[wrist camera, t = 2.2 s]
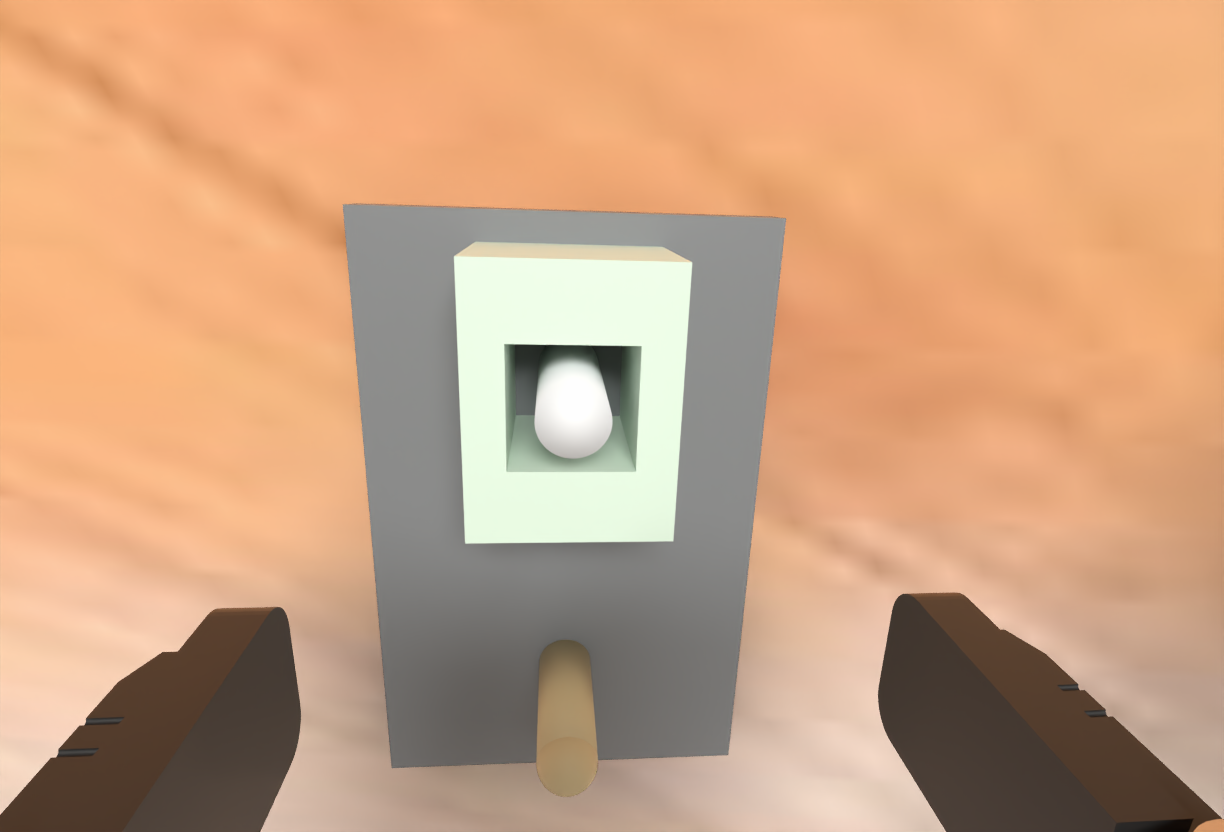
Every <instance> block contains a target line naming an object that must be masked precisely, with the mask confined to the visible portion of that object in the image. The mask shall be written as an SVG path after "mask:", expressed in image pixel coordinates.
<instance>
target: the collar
mask: <svg viewBox="0 0 1224 832" xmlns="http://www.w3.org/2000/svg"><path fill="white" fill-rule="evenodd" d="M454 272H455V298H456V323H457V349H458V374H459V400H460V426H461V451H462V477H463V503H464V528H465V544H469V543H562V542H656V541H673V539H674V524H675V510H676V495H677V480H678V466H679V451H680V436H681V421H682V407H683V392H684V377H685V363H686V348H687V333H688V319H689V304H690V289H691V274H692V262H691V261H689V260H687V259H685V258H683V257H681V256H679V255H677V254H676V253H674V252H672V251H670V250H668V249H666V248H664V247H654V246H618V245H581V244H545V243H508V242H474V243H473V244H471V245H470V246H468V247H467V248H465V249H464V250H462V251H461V252H460V253H458V254H457V255H455V256H454ZM515 344H532V345H602V346H622V365H621V391H620V416H612V429H611V433H610V436H609V438H608V439H607V441H606V442H605V444H604V445H603V446H602V447H601V448H600V449H599V450H598V451H596V452H595V453H593V454H591V455H589V456H586V457H583V458H576V459H570V458H563V457H560V456H557V455H555V454H553V453H552V452H550V451H549V450H547V449H546V448H545V447H544V446H543V445H542V443H541V442H540V440H539V438H538V436H537V434H536V431H535V423H534V421H535V415H516V386H515Z"/></svg>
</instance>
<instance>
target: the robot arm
mask: <svg viewBox="0 0 1224 832" xmlns="http://www.w3.org/2000/svg"><path fill="white" fill-rule="evenodd" d="M878 702H879V710H880V715H881V719H882V723H883V726H884V729H885V731H886V734H887V736H888V738H889V740H890V741H891V743H892V745H893V746H894V748H895V749H896V751H897V753H898V754H899V756H900V758H901V759H902V761H903V762H904V764H905V766H906V767H907V769H908V770H909V772H910V774H911V775H912V777H913V779H914V780H915V782H916V783H917V785H918V787H919V788H920V790H921V791H922V793H923V795H924V796H925V798H926V800H927V801H928V803H929V804H930V806H931V808H932V809H933V811H934V813H935V814H936V816H937V817H938V819H939V821H940V822H941V824H942V825H943V827H944V829H945V830H946V832H1224V819H1222V818H1221V817H1220V816H1219V815H1218V814H1217V813H1216V812H1215V811H1213V810H1212V809H1211V808H1210V807H1209V806H1208V805H1207V804H1206V803H1205V802H1204V801H1203V800H1202V799H1201V798H1200V797H1198V796H1197V795H1196V794H1195V793H1194V792H1193V791H1192V790H1191V789H1190V788H1189V787H1188V786H1187V785H1186V784H1185V783H1183V782H1182V781H1181V780H1180V779H1179V778H1178V777H1177V776H1176V775H1175V774H1174V773H1173V772H1172V771H1171V770H1170V769H1168V768H1167V767H1166V766H1165V765H1164V764H1163V763H1162V762H1161V761H1160V760H1159V759H1158V758H1157V757H1156V756H1154V755H1153V754H1152V753H1151V752H1150V751H1149V750H1148V749H1147V748H1146V747H1145V746H1144V745H1143V744H1142V743H1141V742H1139V741H1138V740H1137V739H1136V738H1135V737H1134V736H1133V735H1132V734H1131V733H1130V732H1129V731H1128V730H1127V729H1126V728H1124V727H1123V726H1122V725H1121V724H1120V723H1119V722H1118V721H1117V720H1116V719H1115V718H1114V717H1108V716H1107V715H1106V712H1105V711H1106V710H1105V709H1104V708H1103V707H1102V706H1101V705H1100V704H1099V703H1098V702H1097V701H1096V700H1094V699H1093V698H1092V697H1091V696H1090V695H1089V694H1088V693H1087V692H1086V691H1085V690H1079V688H1078V684H1077V683H1076V682H1075V681H1074V680H1073V679H1072V678H1071V677H1070V676H1069V675H1068V674H1067V673H1066V672H1064V671H1063V670H1062V669H1061V668H1060V667H1059V666H1058V665H1057V664H1056V663H1055V662H1054V661H1053V660H1052V659H1051V658H1049V657H1048V656H1047V655H1046V654H1045V653H1043V652H1041V651H1040V650H1038V649H1036V648H1035V647H1033V646H1031V645H1030V644H1028V643H1026V642H1024V641H1023V640H1021V639H1019V638H1018V637H1016V636H1014V635H1013V634H1011V633H1009V632H1008V631H1006V630H1000V629H999V628H998V627H997V626H996V625H995V624H994V623H993V622H992V621H991V620H990V619H989V618H988V617H987V616H985V615H984V614H983V613H982V612H981V611H980V610H979V609H978V608H977V607H976V606H975V605H974V604H973V603H972V602H971V601H970V600H969V599H968V598H967V597H966V596H964V595H962V594H960V593H919V594H902V595H900V596H899V597H898V598H897V600H896V601H895V603H894V606H893V610H892V615H891V621H890V626H889V632H888V638H887V643H886V649H885V655H884V660H883V666H882V671H881V677H880V683H879V690H878ZM300 722H301V709H300V700H299V693H298V686H297V679H296V671H295V664H294V657H293V650H292V643H291V635H290V628H289V622H288V618H287V615H286V613H285V611H284V610H283V609H282V608H280V607H264V608H222V609H215V610H213V611H212V612H210V613H209V614H208V615H207V617H206V618H205V619H204V620H203V621H202V623H201V624H200V625H199V626H198V628H197V629H196V630H195V631H194V633H193V634H192V635H191V636H190V637H189V639H188V640H187V641H186V642H185V644H184V645H183V646H182V647H181V648H180V650H179V651H178V652H162V653H161V654H159V655H158V656H156V657H155V658H153V659H152V660H150V661H149V662H147V663H146V664H144V665H143V666H141V667H140V668H139V669H137V670H136V671H134V672H133V673H131V674H130V675H128V676H127V677H125V678H124V679H122V680H121V681H119V682H118V683H117V684H116V685H115V686H114V687H113V689H112V690H111V691H110V692H109V693H108V694H107V695H106V696H105V698H104V699H103V700H102V701H101V702H100V703H99V704H98V705H97V707H96V708H95V709H94V710H93V711H92V712H91V713H90V714H89V716H88V717H87V718H86V723H85V725H84V726H79V727H78V728H77V729H76V730H75V731H74V732H73V734H72V735H71V736H70V737H69V738H68V739H67V740H66V742H65V743H64V744H63V745H62V746H61V747H60V748H59V749H58V755H57V757H56V758H50V760H49V761H48V762H47V763H46V764H45V765H44V766H43V767H42V769H41V770H40V771H39V772H38V773H37V774H36V775H35V776H34V778H33V779H32V780H31V781H30V782H29V783H28V784H27V785H26V787H25V788H24V789H23V790H22V791H21V792H20V793H19V794H18V796H17V797H16V798H15V799H14V800H13V801H12V802H11V804H10V805H9V806H8V807H7V808H6V809H5V810H4V811H3V813H2V814H1V815H0V832H260V831H261V829H262V827H263V824H264V822H265V820H266V818H267V816H268V814H269V811H270V809H271V807H272V805H273V803H274V800H275V798H276V796H277V794H278V792H279V789H280V787H281V785H282V783H283V781H284V779H285V776H286V774H287V772H288V770H289V768H290V765H291V763H292V761H293V758H294V755H295V752H296V748H297V744H298V739H299V732H300Z"/></svg>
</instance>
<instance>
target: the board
mask: <svg viewBox="0 0 1224 832" xmlns="http://www.w3.org/2000/svg"><path fill="white" fill-rule="evenodd" d="M343 212H344V223H345V235H346V246H347V258H348V269H349V281H350V292H351V304H352V315H353V327H354V339H355V350H356V362H357V373H358V385H359V396H360V408H361V419H362V431H363V442H364V454H365V465H366V477H367V488H368V500H369V511H370V523H371V534H372V546H373V558H374V569H375V581H376V592H377V604H378V615H379V627H380V638H381V650H382V661H383V673H384V684H385V696H386V707H387V719H388V730H389V742H390V753H391V765H392V768H405V767H431V766H457V765H483V764H509V763H534V762H536V766H537V772H538V776H539V778H540V780H541V782H542V784H543V785H544V786H545V788H546V789H548V790H549V791H550V792H551V793H553V794H555V795H558V796H562V797H571V796H575V795H577V794H580V793H581V792H583V791H584V790H585V789H587V788H588V786H589V785H590V784H591V783H592V781H593V779H594V777H595V775H596V772H597V767H598V760H612V759H638V758H664V757H690V756H716V755H728V751H729V742H730V733H731V724H732V714H733V705H734V696H735V687H736V677H737V668H738V659H739V650H740V640H741V631H742V622H743V612H744V603H745V594H746V585H747V575H748V566H749V557H750V548H751V538H752V529H753V520H754V511H755V501H756V492H757V483H758V474H759V464H760V455H761V446H762V437H763V427H764V418H765V409H766V399H767V390H768V381H769V372H770V362H771V353H772V344H773V335H774V325H775V316H776V307H777V298H778V288H779V279H780V270H781V261H782V251H783V242H784V233H785V224H786V218H778V217H764V216H733V215H701V214H670V213H638V212H606V211H575V210H543V209H512V208H480V207H448V206H417V205H385V204H344V205H343ZM474 242H508V243H545V244H581V245H618V246H654V247H664V248H666V249H668V250H670V251H672V252H674V253H676V254H677V255H679V256H681V257H683V258H685V259H687V260H689V261H691V262H692V274H691V289H690V304H689V319H688V333H687V348H686V363H685V377H684V392H683V407H682V421H681V436H680V451H679V466H678V480H677V495H676V510H675V524H674V539H673V541H656V542H562V543H469V544H465V528H464V503H463V477H462V451H461V426H460V400H459V374H458V349H457V323H456V298H455V272H454V256H455V255H457V254H458V253H460V252H461V251H462V250H464V249H465V248H467V247H468V246H470V245H471V244H473V243H474ZM621 365H622V346H602V345H532V344H515V386H516V415H535V421H534V423H535V431H536V434H537V436H538V438H539V440H540V442H541V443H542V445H543V446H544V447H545V448H546V449H547V450H549V451H550V452H552V453H553V454H555V455H557V456H560V457H563V458H570V459H576V458H583V457H586V456H589V455H591V454H593V453H595V452H596V451H598V450H599V449H600V448H601V447H602V446H603V445H604V444H605V442H606V441H607V439H608V438H609V436H610V433H611V429H612V416H620V391H621Z"/></svg>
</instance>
